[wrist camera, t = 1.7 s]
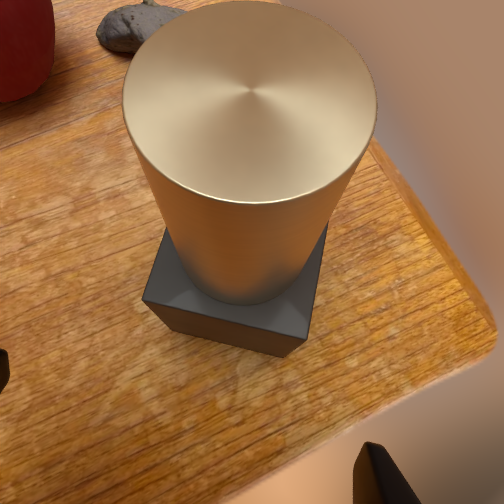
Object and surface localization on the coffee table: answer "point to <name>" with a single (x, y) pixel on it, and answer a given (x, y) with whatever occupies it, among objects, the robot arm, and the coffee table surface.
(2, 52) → the apple
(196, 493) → the coffee table surface
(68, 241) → the coffee table surface
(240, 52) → the tea tin
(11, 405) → the coffee table surface
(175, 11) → the stone
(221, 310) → the riser
